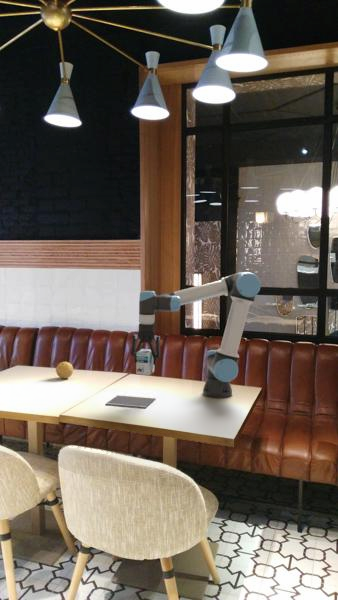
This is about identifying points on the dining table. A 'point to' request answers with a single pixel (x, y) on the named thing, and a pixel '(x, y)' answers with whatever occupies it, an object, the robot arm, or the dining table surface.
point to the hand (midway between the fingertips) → (145, 370)
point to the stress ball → (64, 370)
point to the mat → (131, 401)
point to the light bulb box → (144, 362)
